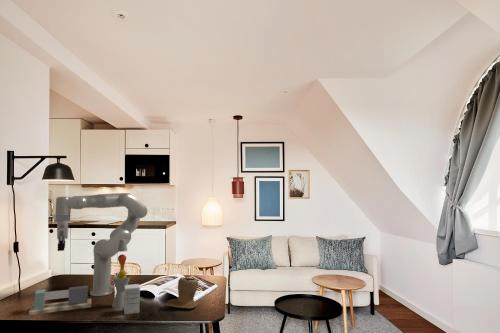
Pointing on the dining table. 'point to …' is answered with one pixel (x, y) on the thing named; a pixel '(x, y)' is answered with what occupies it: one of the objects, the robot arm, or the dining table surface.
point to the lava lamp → (120, 277)
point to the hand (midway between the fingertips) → (61, 249)
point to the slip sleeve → (78, 295)
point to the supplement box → (131, 298)
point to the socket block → (39, 300)
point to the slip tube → (56, 294)
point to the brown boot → (185, 294)
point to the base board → (59, 307)
